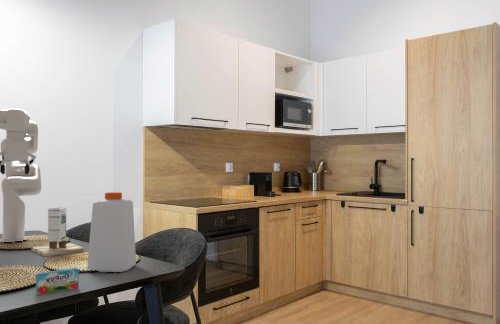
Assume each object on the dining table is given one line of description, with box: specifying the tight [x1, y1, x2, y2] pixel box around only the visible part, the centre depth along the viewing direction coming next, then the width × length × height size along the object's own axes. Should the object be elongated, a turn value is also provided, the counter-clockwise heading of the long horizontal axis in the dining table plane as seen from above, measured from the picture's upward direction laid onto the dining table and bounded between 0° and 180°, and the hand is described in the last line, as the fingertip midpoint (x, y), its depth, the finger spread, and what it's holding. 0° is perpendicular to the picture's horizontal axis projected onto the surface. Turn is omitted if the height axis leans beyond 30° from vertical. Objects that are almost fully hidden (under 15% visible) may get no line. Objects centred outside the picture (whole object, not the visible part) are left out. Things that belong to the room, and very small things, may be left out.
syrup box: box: [47, 206, 67, 243], centre depth 196 cm, size 6×6×14 cm
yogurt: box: [35, 267, 80, 296], centre depth 134 cm, size 12×2×6 cm, turn 132°
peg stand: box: [30, 239, 85, 257], centre depth 196 cm, size 17×17×4 cm
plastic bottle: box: [86, 191, 137, 274], centre depth 165 cm, size 15×15×28 cm
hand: (14, 174), depth 202 cm, fingers open, 9 cm apart
